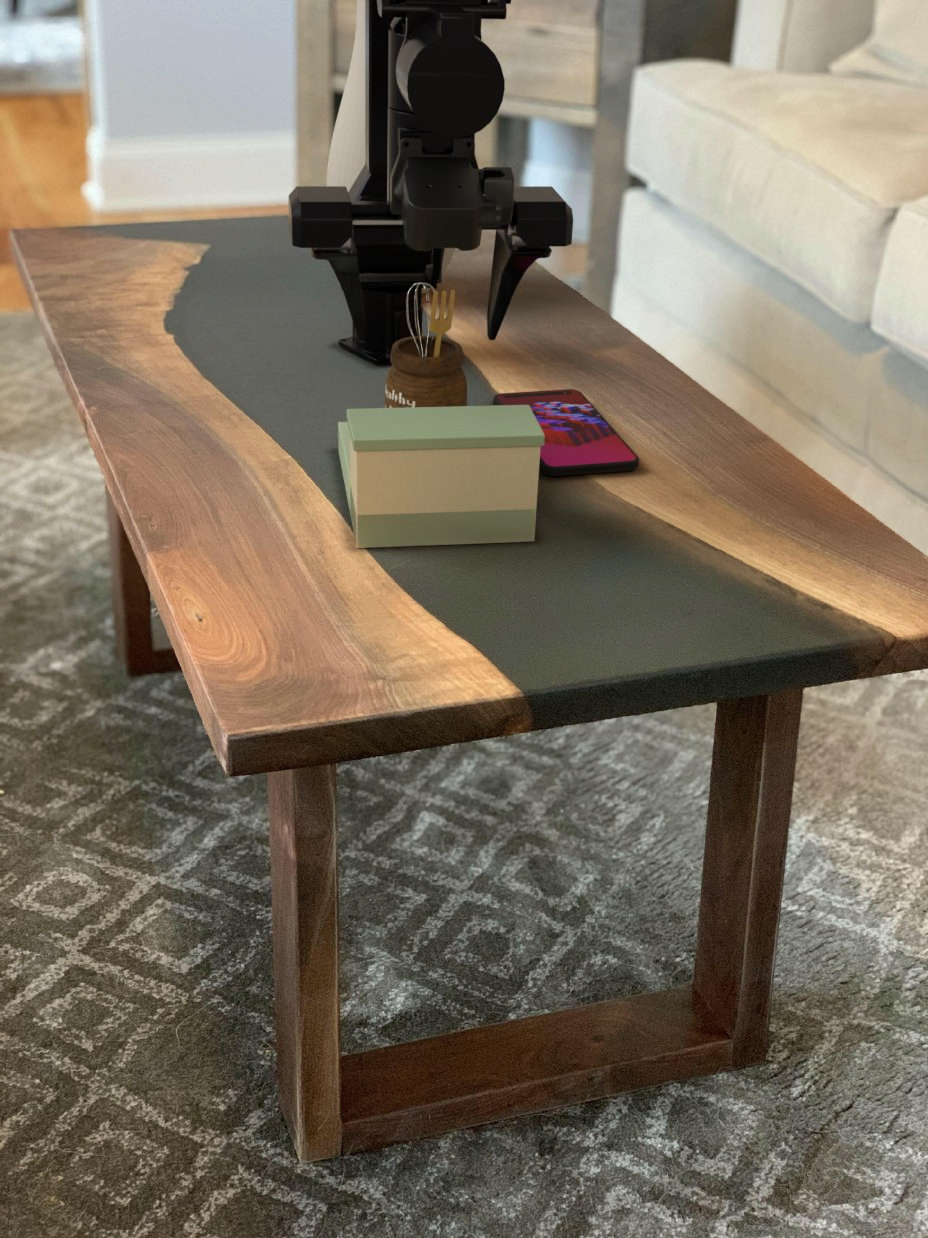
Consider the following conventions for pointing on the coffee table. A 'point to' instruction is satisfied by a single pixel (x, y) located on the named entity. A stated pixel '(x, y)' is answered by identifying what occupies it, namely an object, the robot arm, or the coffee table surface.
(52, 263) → the coffee table surface
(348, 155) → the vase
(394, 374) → the utensil holder
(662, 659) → the coffee table surface
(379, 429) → the beige rectangular box
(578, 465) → the smartphone
